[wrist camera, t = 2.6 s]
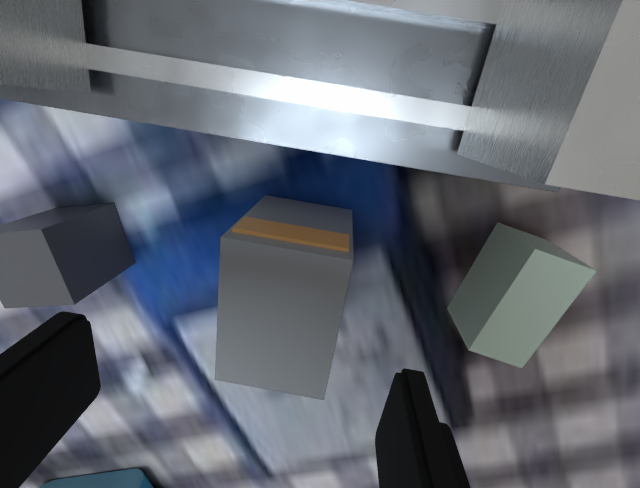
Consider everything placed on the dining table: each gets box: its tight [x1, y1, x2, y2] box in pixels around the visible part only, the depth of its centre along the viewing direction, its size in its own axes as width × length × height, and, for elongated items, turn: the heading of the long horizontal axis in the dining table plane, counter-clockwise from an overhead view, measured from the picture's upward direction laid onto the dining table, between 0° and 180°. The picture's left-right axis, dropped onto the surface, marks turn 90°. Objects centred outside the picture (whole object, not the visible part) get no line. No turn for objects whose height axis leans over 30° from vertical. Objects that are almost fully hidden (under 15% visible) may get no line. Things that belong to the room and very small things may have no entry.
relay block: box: [0, 203, 135, 308], centre depth 18 cm, size 4×4×5 cm
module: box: [215, 195, 354, 400], centre depth 16 cm, size 5×7×7 cm
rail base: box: [0, 0, 640, 200], centre depth 11 cm, size 28×9×9 cm, turn 81°
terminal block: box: [447, 222, 596, 368], centre depth 17 cm, size 3×6×4 cm, turn 161°
